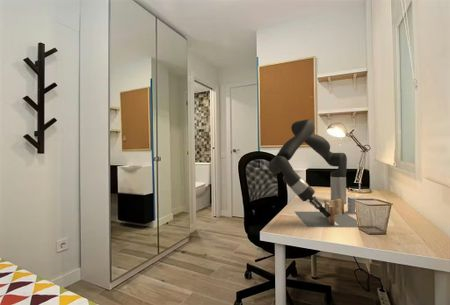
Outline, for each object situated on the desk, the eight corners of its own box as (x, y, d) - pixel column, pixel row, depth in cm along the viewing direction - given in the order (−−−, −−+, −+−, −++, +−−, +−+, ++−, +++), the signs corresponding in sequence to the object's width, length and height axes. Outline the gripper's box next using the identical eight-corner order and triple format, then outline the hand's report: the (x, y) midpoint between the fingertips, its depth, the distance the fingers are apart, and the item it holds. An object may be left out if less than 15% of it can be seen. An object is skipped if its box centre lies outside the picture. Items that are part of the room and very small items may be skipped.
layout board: (294, 212, 127) (294, 211, 127) (342, 212, 125) (342, 211, 125) (307, 227, 101) (307, 226, 101) (369, 228, 99) (369, 227, 99)
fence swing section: (325, 216, 115) (325, 201, 115) (329, 216, 115) (328, 201, 115) (330, 224, 103) (330, 207, 103) (335, 224, 102) (334, 207, 102)
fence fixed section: (327, 217, 115) (326, 200, 115) (323, 216, 117) (323, 200, 117) (344, 213, 121) (344, 198, 121) (341, 213, 123) (341, 197, 123)
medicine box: (362, 212, 124) (362, 197, 124) (366, 214, 120) (366, 198, 120) (347, 212, 125) (347, 197, 125) (351, 214, 121) (350, 198, 121)
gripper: (310, 186, 101) (339, 214, 99) (305, 182, 114) (331, 207, 112) (298, 197, 102) (326, 225, 100) (294, 192, 115) (319, 217, 113)
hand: (328, 216), depth 106 cm, fingers closed
